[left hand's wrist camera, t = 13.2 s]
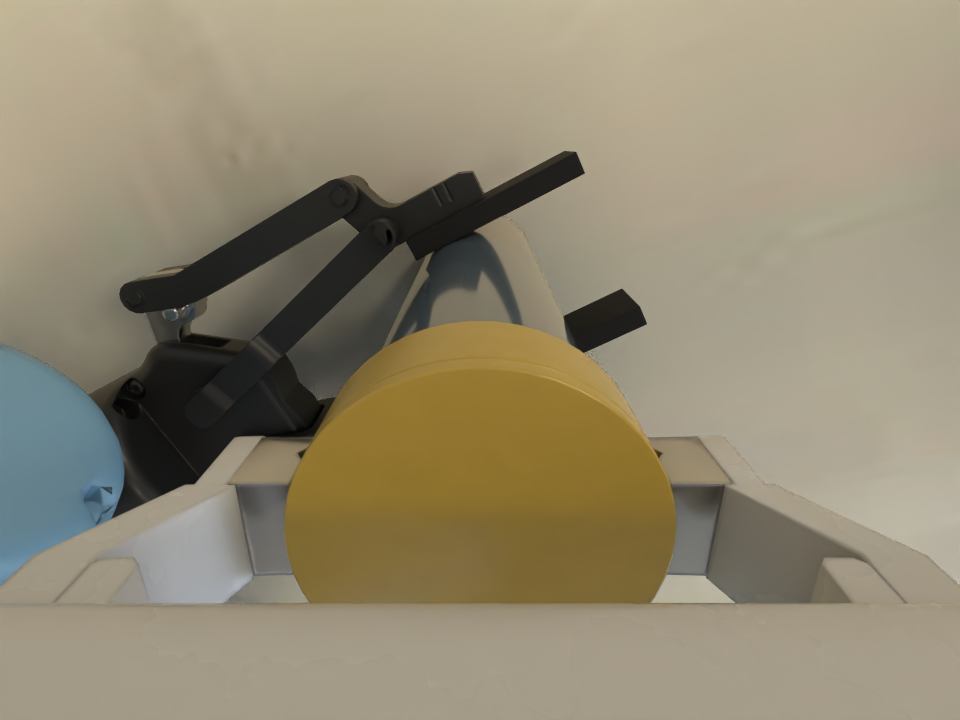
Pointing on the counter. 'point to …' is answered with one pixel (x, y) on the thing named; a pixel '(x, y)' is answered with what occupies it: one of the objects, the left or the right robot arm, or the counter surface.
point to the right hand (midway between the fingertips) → (604, 237)
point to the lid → (480, 479)
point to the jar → (481, 286)
